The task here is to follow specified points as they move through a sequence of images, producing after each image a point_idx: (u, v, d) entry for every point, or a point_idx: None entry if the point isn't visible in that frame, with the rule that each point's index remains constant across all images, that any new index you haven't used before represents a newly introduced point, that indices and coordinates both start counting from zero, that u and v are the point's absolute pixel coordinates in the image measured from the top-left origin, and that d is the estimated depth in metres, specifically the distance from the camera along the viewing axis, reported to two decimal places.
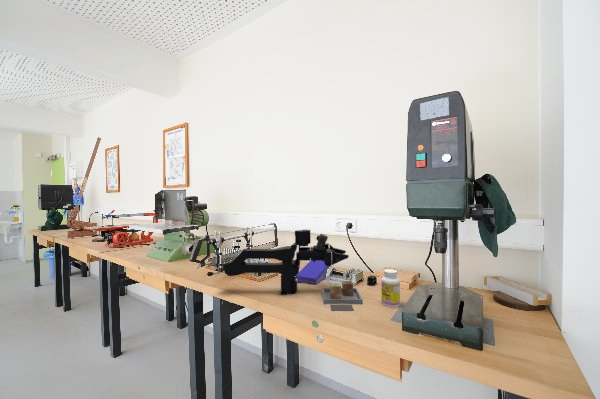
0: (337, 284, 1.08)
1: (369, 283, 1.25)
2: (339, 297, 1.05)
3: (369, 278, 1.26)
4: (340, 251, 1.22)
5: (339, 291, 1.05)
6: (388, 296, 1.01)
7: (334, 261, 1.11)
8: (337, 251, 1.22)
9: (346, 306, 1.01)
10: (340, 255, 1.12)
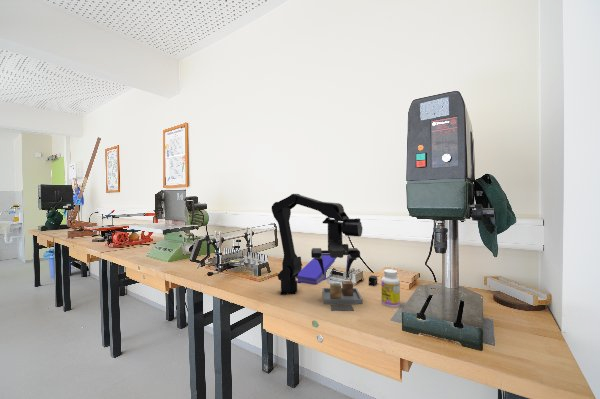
0: (337, 284, 1.08)
1: (371, 283, 1.25)
2: (339, 297, 1.05)
3: (370, 278, 1.25)
4: (346, 268, 1.07)
5: (339, 291, 1.05)
6: (388, 296, 1.01)
7: None
8: None
9: (346, 306, 1.01)
10: None
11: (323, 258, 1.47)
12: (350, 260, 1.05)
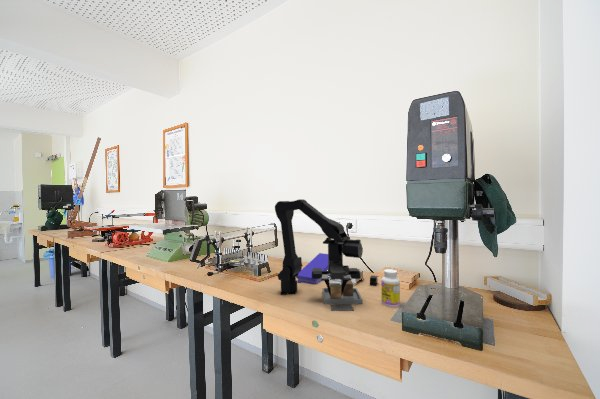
0: (337, 284, 1.08)
1: (372, 283, 1.25)
2: (339, 297, 1.05)
3: (372, 278, 1.25)
4: (341, 289, 1.07)
5: (339, 291, 1.05)
6: (388, 296, 1.01)
7: None
8: (341, 285, 1.07)
9: (346, 306, 1.01)
10: (327, 286, 1.07)
11: (324, 258, 1.47)
12: (344, 281, 1.05)
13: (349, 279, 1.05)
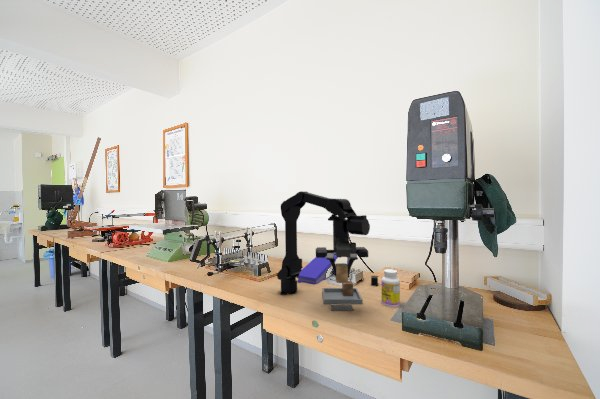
0: (343, 264, 1.00)
1: (373, 284, 1.24)
2: (345, 277, 0.98)
3: (373, 279, 1.25)
4: None
5: (345, 271, 0.98)
6: (388, 296, 1.01)
7: None
8: (348, 265, 1.00)
9: (346, 306, 1.01)
10: (332, 266, 1.00)
11: (324, 258, 1.47)
12: (351, 260, 0.98)
13: (356, 258, 0.97)
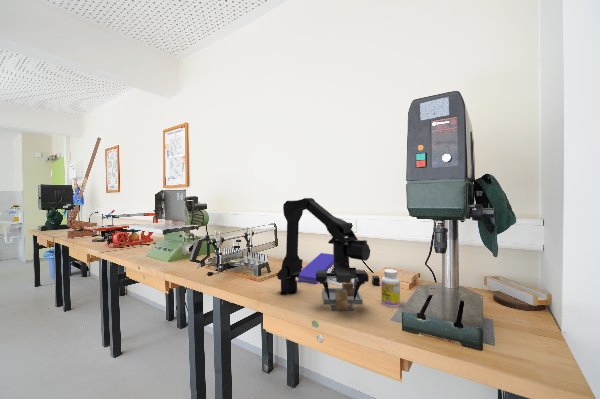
0: (343, 290, 1.00)
1: (375, 284, 1.24)
2: (345, 304, 0.98)
3: (375, 279, 1.25)
4: (354, 293, 1.00)
5: (345, 298, 0.98)
6: (388, 296, 1.01)
7: None
8: (354, 289, 1.00)
9: None
10: None
11: (325, 258, 1.47)
12: (358, 284, 0.97)
13: (363, 282, 0.97)
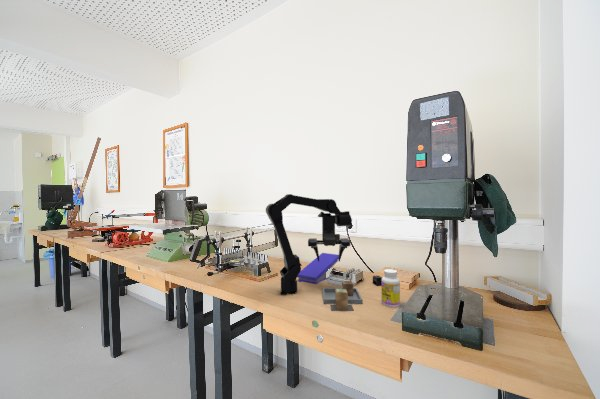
0: (343, 290, 1.00)
1: (379, 284, 1.24)
2: (345, 304, 0.98)
3: (378, 279, 1.25)
4: None
5: (345, 298, 0.98)
6: (388, 296, 1.01)
7: None
8: (339, 253, 1.23)
9: None
10: (316, 254, 1.23)
11: (326, 258, 1.48)
12: (341, 248, 1.21)
13: (346, 247, 1.21)
